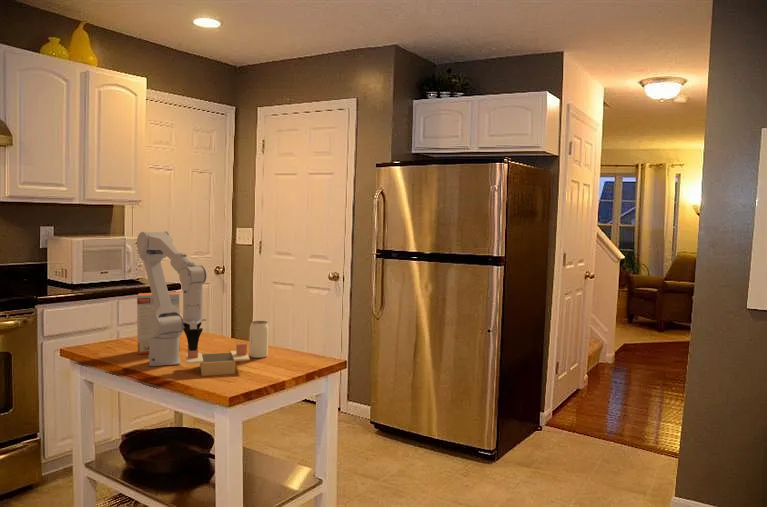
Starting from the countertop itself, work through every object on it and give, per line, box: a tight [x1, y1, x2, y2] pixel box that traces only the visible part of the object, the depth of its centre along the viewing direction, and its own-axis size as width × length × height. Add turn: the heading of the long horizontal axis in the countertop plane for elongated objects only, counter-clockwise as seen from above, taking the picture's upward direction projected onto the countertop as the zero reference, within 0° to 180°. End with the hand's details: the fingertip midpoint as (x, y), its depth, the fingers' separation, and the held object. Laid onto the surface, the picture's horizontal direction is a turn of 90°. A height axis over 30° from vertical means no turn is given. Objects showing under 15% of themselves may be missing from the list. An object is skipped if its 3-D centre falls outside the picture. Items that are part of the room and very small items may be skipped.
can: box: [248, 320, 270, 359], centre depth 212 cm, size 6×6×12 cm
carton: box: [199, 351, 236, 377], centre depth 193 cm, size 10×12×4 cm
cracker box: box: [136, 291, 181, 355], centre depth 215 cm, size 14×6×21 cm, turn 108°
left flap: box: [185, 345, 203, 364], centre depth 190 cm, size 5×12×4 cm, turn 19°
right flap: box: [230, 342, 251, 362], centre depth 195 cm, size 5×12×4 cm, turn 19°
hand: (192, 347), depth 190 cm, fingers open, 7 cm apart
